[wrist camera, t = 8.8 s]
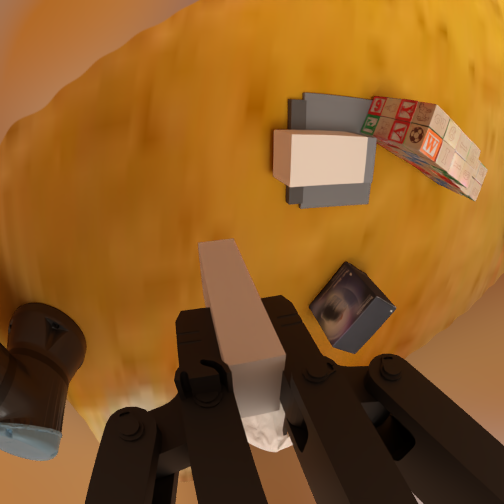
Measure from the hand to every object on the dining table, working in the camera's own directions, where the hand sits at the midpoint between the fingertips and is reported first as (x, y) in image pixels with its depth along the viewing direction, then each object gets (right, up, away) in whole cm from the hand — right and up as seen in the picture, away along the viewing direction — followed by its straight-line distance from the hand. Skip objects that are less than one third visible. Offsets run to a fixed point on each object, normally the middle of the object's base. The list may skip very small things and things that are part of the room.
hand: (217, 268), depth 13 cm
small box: (+16, -6, +39) cm, 42 cm away
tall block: (+5, +12, +21) cm, 24 cm away
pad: (+13, +15, +26) cm, 32 cm away
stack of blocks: (+27, +18, +28) cm, 43 cm away
